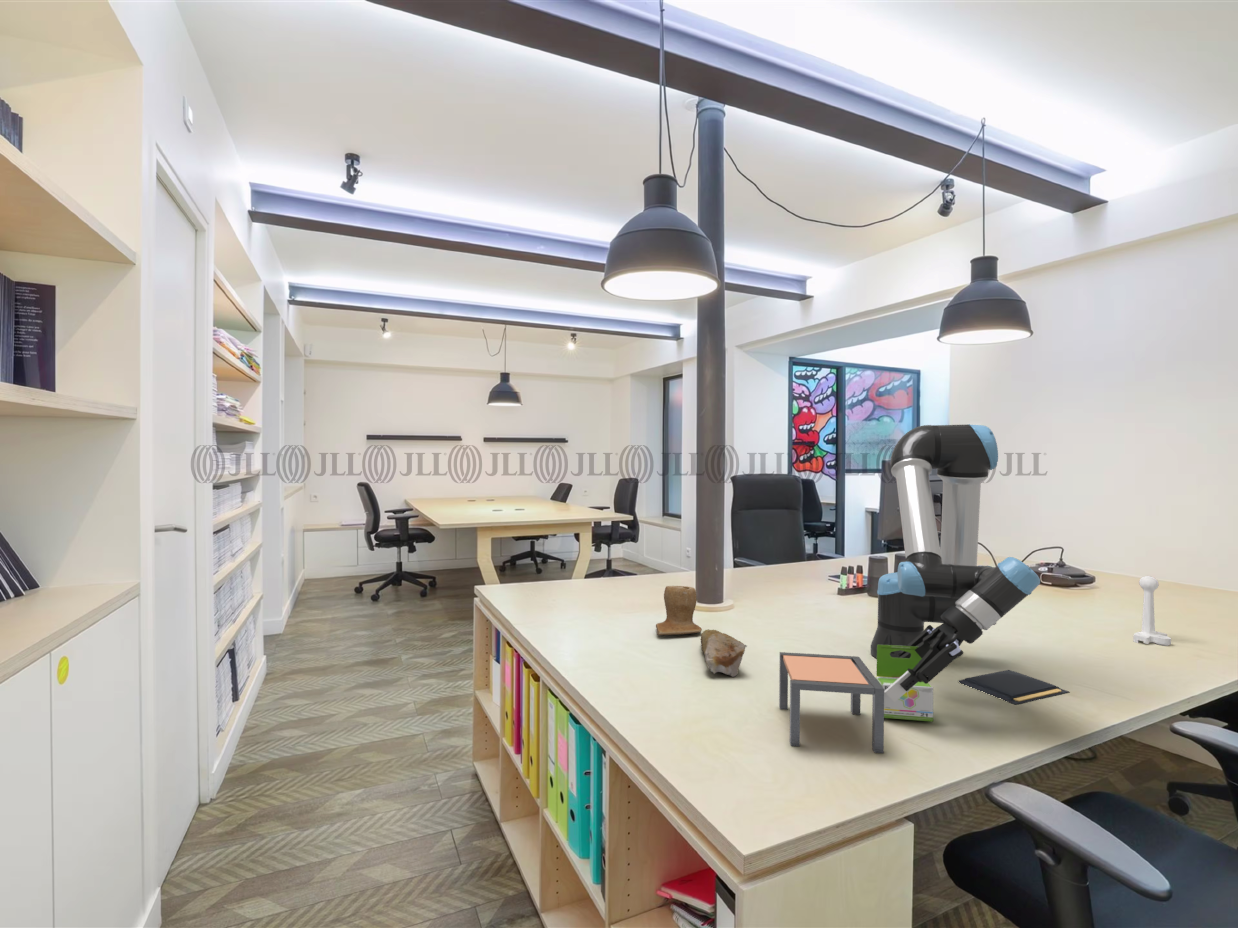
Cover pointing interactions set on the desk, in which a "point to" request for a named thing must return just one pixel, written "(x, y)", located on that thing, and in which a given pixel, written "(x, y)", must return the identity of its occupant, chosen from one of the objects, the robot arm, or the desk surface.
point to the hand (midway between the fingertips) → (885, 690)
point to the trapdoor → (823, 670)
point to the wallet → (1013, 686)
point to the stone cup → (679, 611)
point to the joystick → (1150, 615)
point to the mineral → (722, 652)
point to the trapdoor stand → (854, 689)
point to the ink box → (915, 699)
